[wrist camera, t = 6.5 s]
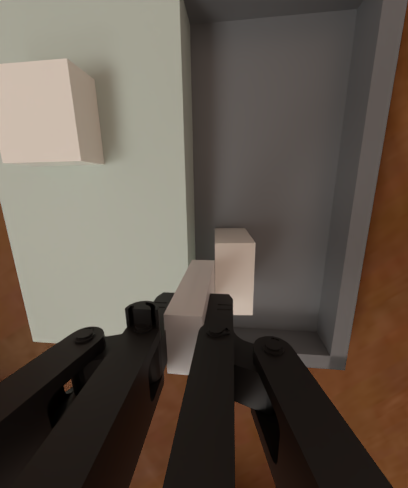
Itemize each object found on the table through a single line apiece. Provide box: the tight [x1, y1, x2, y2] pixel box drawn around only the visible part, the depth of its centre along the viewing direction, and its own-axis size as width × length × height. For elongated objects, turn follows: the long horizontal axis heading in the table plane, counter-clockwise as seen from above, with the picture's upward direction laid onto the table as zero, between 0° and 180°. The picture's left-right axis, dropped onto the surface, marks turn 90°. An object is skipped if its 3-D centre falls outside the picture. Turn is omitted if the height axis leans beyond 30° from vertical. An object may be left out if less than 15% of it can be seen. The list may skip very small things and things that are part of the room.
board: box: [0, 0, 196, 343], centre depth 18 cm, size 24×14×4 cm, turn 1°
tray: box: [184, 0, 408, 370], centre depth 17 cm, size 26×12×4 cm, turn 1°
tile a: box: [215, 228, 256, 315], centre depth 17 cm, size 5×5×2 cm
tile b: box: [0, 58, 104, 166], centre depth 14 cm, size 5×5×2 cm
